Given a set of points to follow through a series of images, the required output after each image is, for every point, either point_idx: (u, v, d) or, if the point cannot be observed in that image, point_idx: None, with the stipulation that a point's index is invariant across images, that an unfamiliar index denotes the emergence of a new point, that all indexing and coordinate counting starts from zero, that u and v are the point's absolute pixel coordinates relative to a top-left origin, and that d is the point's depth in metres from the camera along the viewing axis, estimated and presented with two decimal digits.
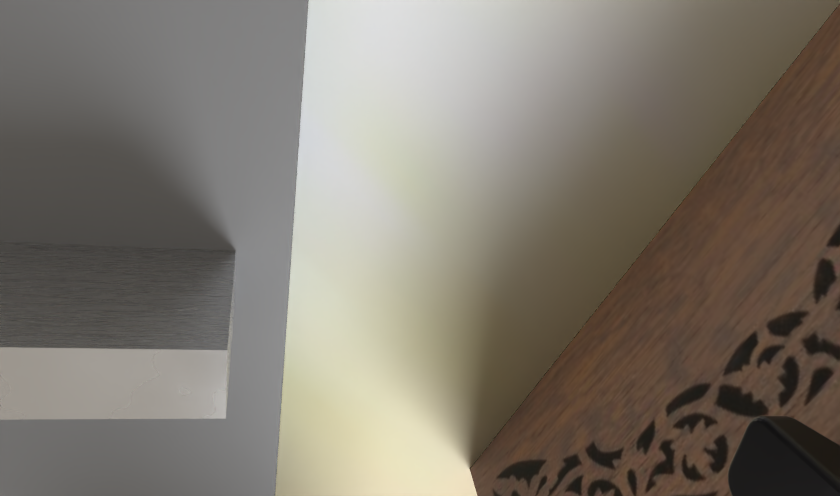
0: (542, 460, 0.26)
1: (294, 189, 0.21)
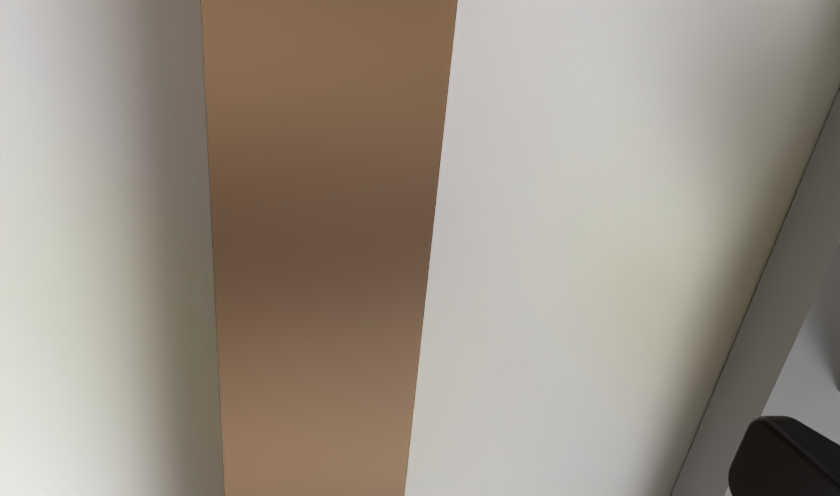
0: None
1: None
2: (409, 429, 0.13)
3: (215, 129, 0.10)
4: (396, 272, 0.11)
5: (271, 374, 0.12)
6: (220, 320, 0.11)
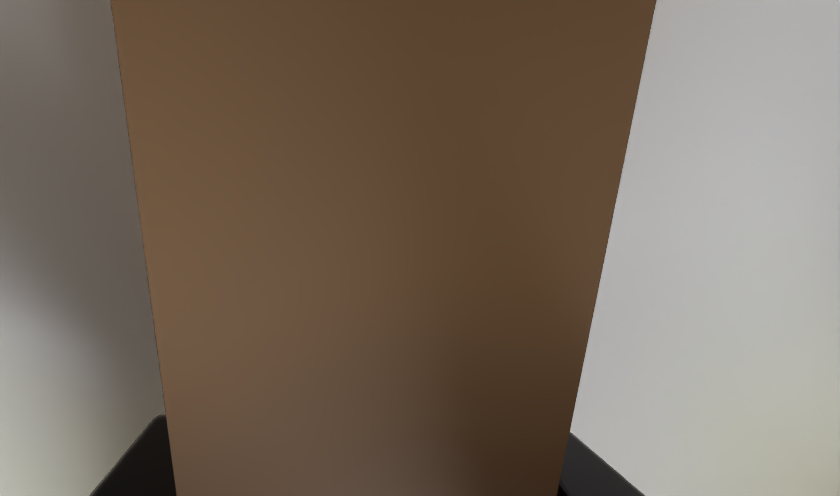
0: None
1: None
2: None
3: (181, 411, 0.05)
4: None
5: None
6: None
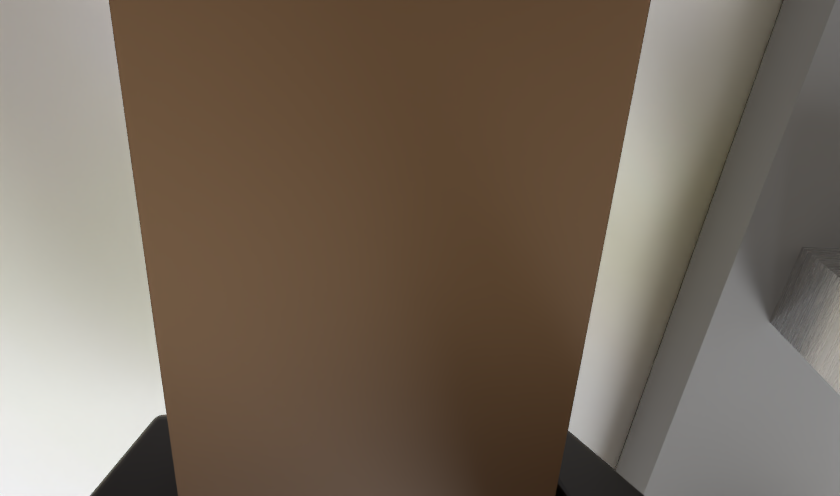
0: None
1: None
2: None
3: (182, 409, 0.05)
4: None
5: None
6: None
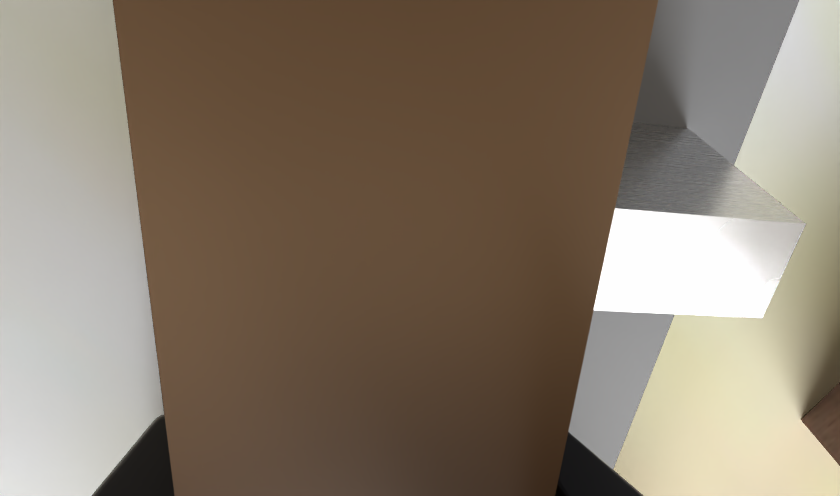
0: None
1: (777, 49, 0.17)
2: None
3: (179, 408, 0.05)
4: None
5: None
6: None
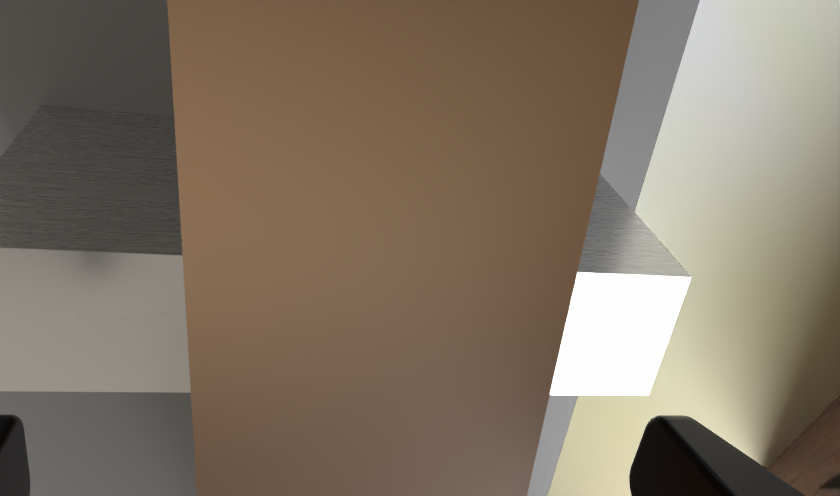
0: None
1: (682, 49, 0.13)
2: None
3: (202, 351, 0.06)
4: None
5: None
6: None
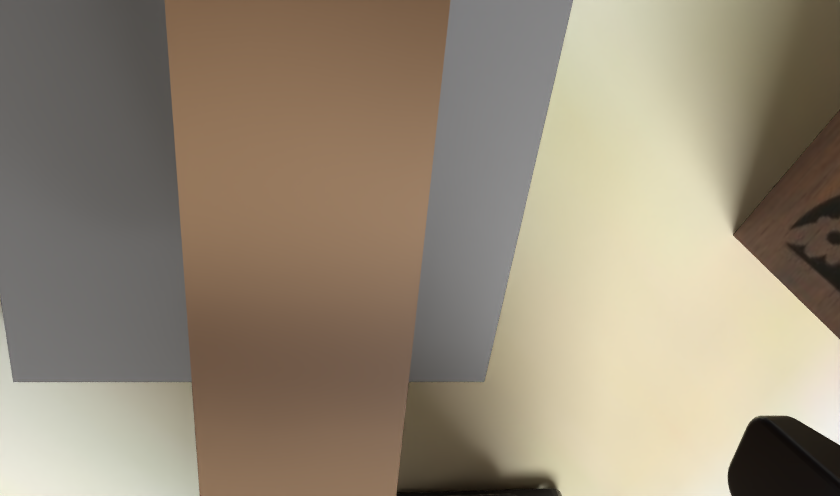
0: None
1: None
2: (431, 148, 0.09)
3: None
4: None
5: (241, 39, 0.08)
6: None
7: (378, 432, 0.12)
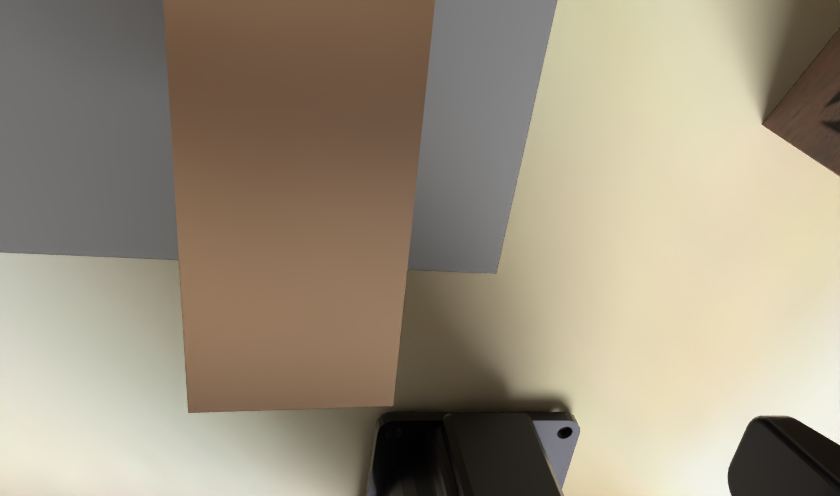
0: None
1: None
2: None
3: None
4: None
5: None
6: None
7: (385, 204, 0.10)
